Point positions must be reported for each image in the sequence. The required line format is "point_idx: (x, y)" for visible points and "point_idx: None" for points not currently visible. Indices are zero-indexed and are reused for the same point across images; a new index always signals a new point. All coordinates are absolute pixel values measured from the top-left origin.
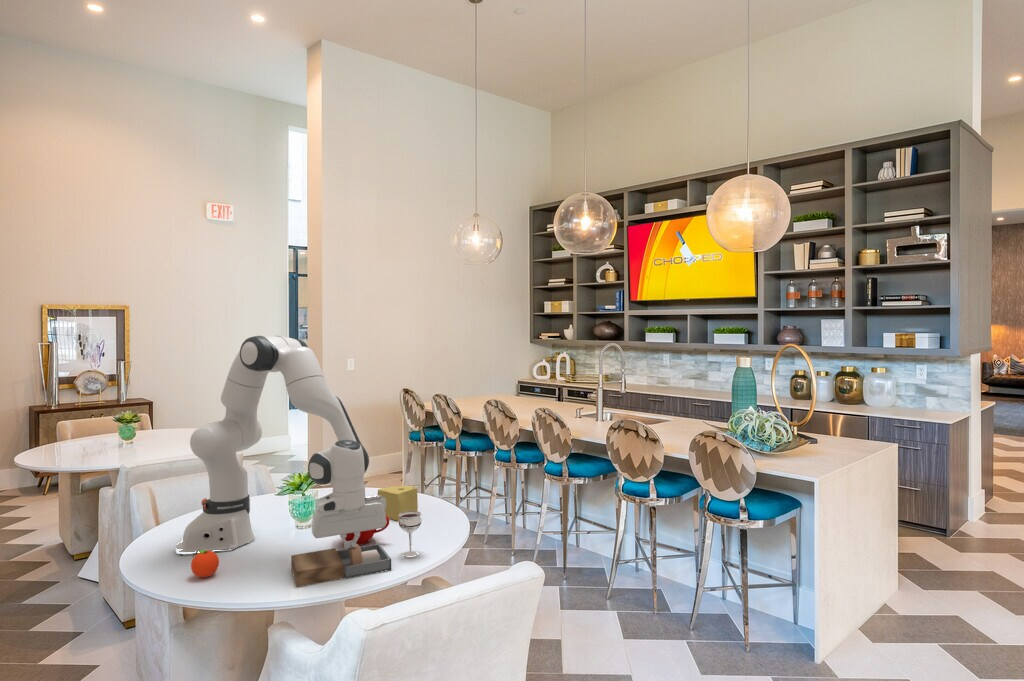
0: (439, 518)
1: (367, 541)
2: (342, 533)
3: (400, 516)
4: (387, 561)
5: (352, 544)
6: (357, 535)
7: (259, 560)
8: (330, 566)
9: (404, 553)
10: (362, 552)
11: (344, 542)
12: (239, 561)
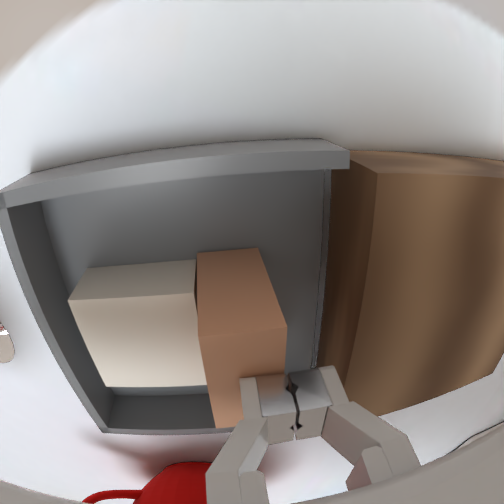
0: (12, 477)
1: (166, 469)
2: (432, 471)
3: None
4: (18, 185)
5: (278, 398)
6: (236, 473)
7: (473, 401)
8: (456, 173)
9: (4, 348)
10: (185, 377)
11: (361, 408)
12: (495, 396)
